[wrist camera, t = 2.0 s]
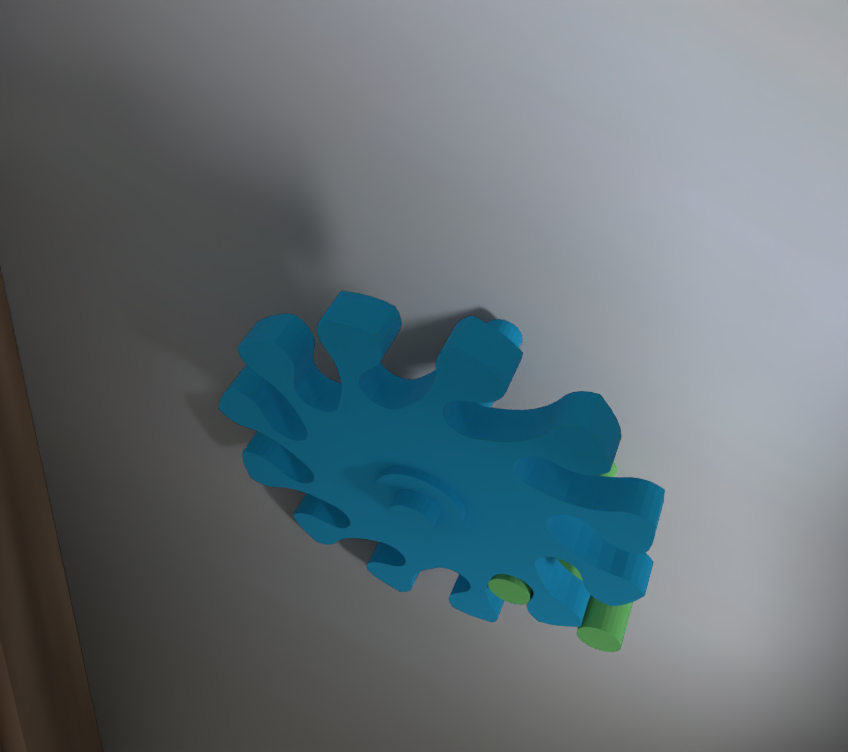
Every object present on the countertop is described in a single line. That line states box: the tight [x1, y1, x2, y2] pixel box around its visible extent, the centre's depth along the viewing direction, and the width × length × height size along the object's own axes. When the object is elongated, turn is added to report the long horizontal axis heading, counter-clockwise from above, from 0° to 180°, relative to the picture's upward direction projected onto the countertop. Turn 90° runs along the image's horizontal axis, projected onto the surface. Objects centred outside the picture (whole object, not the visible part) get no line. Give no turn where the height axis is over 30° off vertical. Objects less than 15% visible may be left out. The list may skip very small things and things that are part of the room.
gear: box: [219, 291, 665, 652], centre depth 19 cm, size 11×6×10 cm
